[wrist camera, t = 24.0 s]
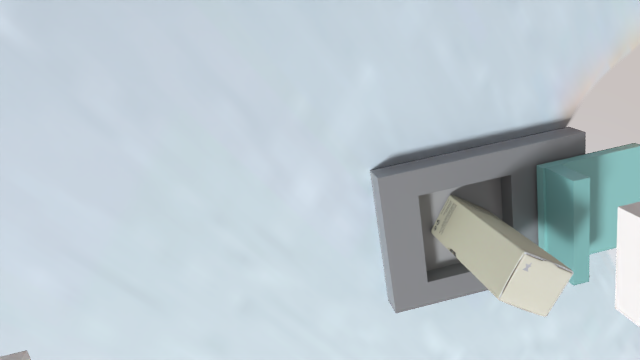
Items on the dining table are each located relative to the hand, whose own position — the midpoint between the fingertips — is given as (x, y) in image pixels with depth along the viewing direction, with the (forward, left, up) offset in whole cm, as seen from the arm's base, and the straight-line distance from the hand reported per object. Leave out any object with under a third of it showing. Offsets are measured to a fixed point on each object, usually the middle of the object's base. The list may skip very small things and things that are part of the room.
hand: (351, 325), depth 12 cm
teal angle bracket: (+29, -16, -32) cm, 46 cm away
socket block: (+19, -16, -35) cm, 43 cm away
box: (+17, -16, -34) cm, 42 cm away
